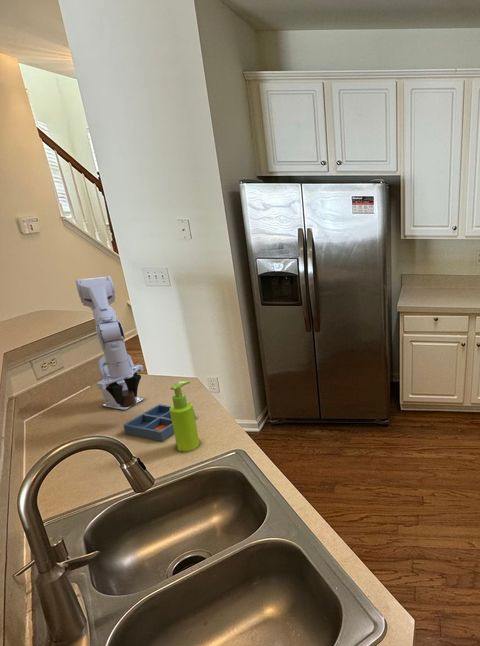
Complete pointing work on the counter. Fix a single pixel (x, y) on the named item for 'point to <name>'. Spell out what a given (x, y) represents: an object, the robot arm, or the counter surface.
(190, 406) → the soap dispenser
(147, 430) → the grid
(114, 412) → the counter surface
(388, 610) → the counter surface
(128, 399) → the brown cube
